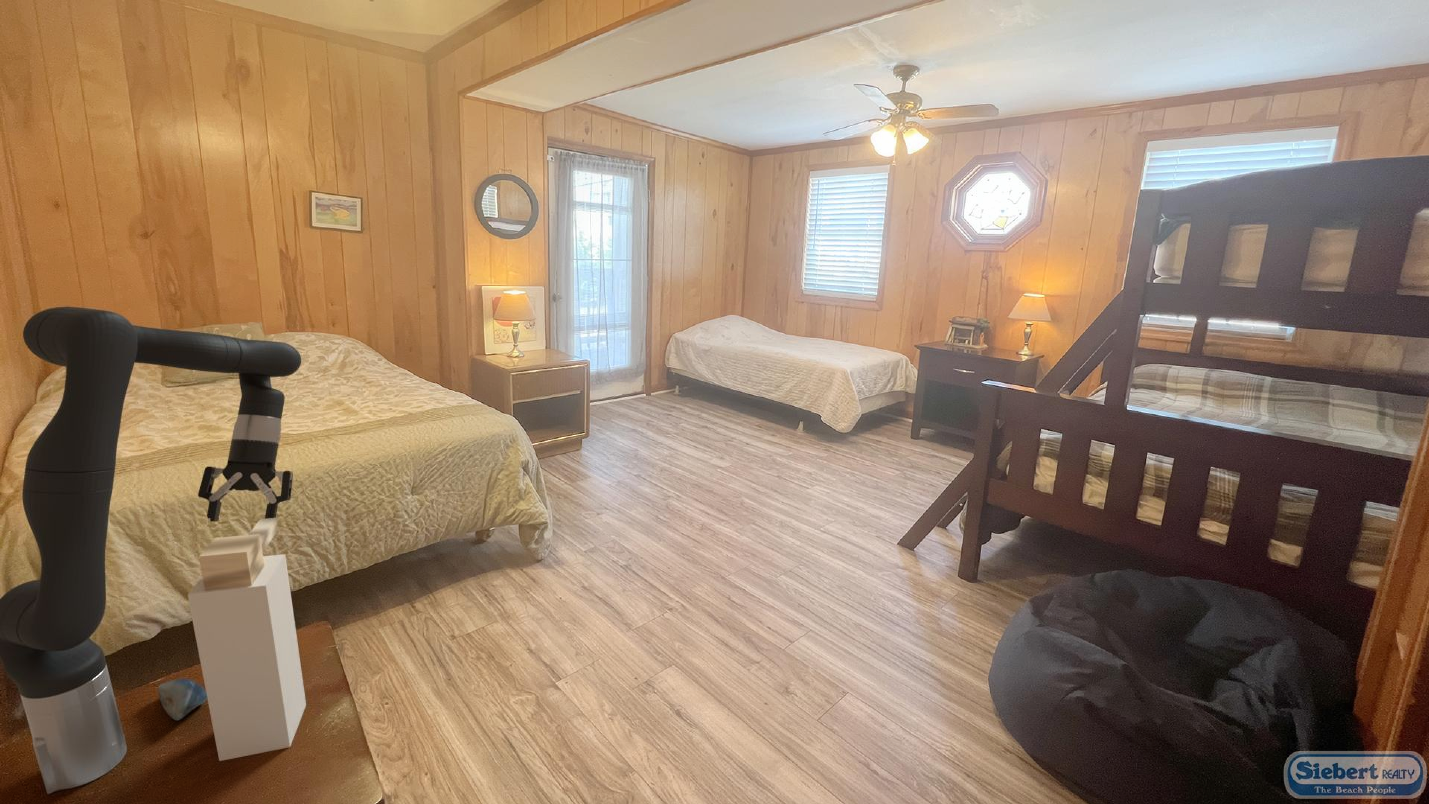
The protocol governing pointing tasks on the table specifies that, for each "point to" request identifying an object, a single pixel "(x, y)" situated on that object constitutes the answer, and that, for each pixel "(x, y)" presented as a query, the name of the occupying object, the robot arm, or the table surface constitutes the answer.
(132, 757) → the table surface
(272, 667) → the stand
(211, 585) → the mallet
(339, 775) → the table surface
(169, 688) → the blue rounded lump
